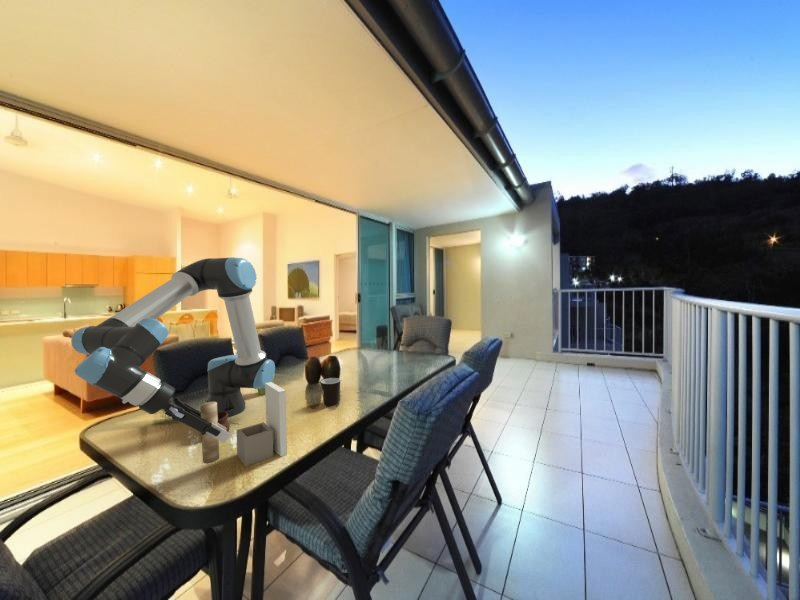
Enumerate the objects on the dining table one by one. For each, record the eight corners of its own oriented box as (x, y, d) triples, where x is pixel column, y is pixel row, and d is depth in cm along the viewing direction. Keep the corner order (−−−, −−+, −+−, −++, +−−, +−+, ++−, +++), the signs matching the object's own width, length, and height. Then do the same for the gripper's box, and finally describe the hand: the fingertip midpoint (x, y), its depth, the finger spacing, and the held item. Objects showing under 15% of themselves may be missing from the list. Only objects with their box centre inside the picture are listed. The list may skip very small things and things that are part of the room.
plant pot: (270, 396, 147) (269, 378, 147) (250, 396, 147) (250, 378, 147) (278, 390, 156) (277, 373, 156) (260, 390, 157) (259, 373, 156)
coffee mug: (338, 406, 133) (338, 383, 133) (318, 406, 133) (318, 383, 133) (344, 397, 145) (343, 376, 144) (325, 397, 145) (325, 376, 144)
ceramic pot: (224, 419, 121) (223, 402, 121) (254, 428, 113) (254, 410, 113) (173, 441, 105) (172, 421, 104) (205, 453, 97) (204, 431, 97)
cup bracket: (247, 469, 87) (245, 399, 86) (235, 453, 96) (233, 389, 95) (287, 454, 95) (285, 390, 94) (272, 440, 103) (271, 381, 103)
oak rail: (199, 463, 86) (196, 406, 85) (209, 455, 90) (207, 401, 89) (212, 463, 85) (210, 407, 85) (222, 455, 89) (220, 401, 89)
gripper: (135, 397, 82) (209, 437, 94) (138, 417, 70) (222, 459, 82) (159, 374, 86) (227, 415, 98) (166, 388, 73) (243, 433, 85)
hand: (225, 435), depth 90 cm, fingers closed on oak rail, 4 cm apart
